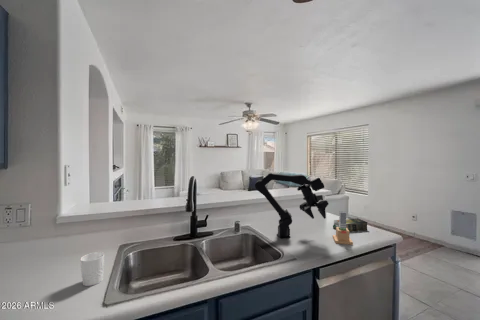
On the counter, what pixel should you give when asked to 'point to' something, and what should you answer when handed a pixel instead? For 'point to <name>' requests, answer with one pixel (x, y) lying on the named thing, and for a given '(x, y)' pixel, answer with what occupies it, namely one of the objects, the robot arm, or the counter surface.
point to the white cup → (92, 268)
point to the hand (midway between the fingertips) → (319, 218)
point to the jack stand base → (342, 237)
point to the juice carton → (353, 224)
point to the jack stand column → (342, 220)
